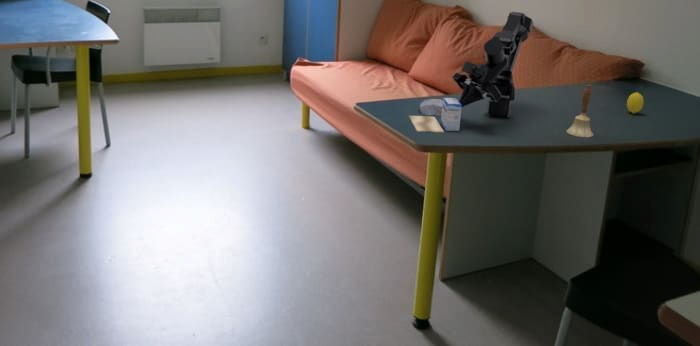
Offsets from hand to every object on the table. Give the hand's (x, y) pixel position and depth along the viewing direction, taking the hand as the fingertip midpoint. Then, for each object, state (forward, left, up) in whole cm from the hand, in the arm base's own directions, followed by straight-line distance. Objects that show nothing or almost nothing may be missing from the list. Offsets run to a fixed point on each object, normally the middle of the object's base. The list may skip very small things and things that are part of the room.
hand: (459, 106), depth 228 cm
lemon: (-71, -27, -7) cm, 76 cm away
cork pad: (+10, -2, -7) cm, 12 cm away
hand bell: (-40, +2, -7) cm, 40 cm away
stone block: (+4, -18, -7) cm, 20 cm away
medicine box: (+2, +1, -7) cm, 7 cm away
